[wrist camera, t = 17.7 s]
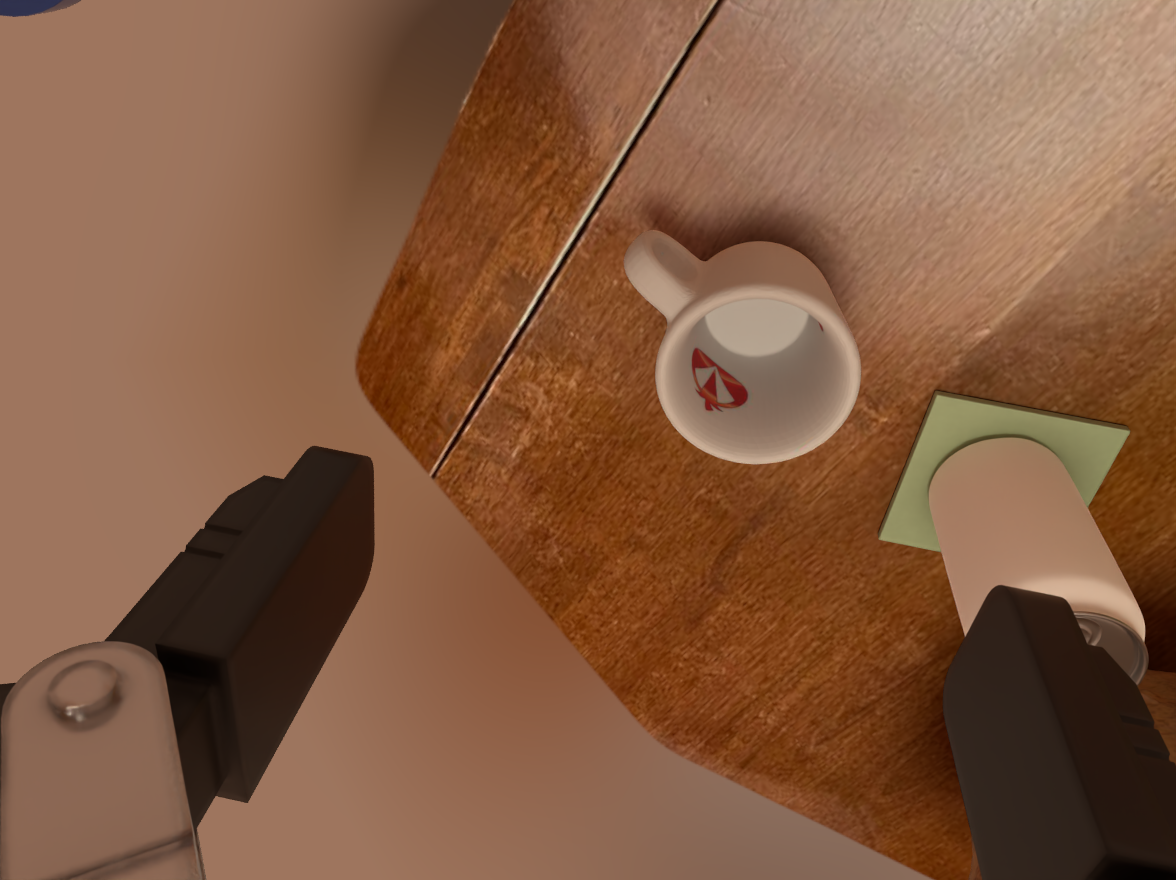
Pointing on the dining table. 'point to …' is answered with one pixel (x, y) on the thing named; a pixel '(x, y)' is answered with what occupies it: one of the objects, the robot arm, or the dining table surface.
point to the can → (1031, 542)
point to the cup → (747, 347)
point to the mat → (973, 420)
